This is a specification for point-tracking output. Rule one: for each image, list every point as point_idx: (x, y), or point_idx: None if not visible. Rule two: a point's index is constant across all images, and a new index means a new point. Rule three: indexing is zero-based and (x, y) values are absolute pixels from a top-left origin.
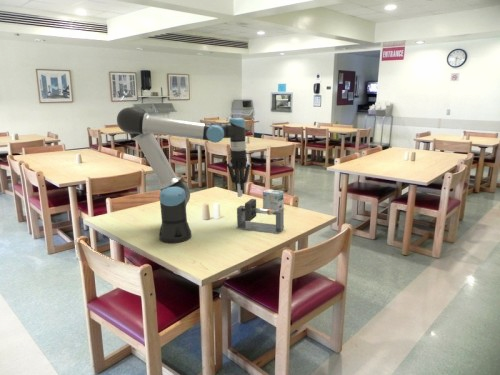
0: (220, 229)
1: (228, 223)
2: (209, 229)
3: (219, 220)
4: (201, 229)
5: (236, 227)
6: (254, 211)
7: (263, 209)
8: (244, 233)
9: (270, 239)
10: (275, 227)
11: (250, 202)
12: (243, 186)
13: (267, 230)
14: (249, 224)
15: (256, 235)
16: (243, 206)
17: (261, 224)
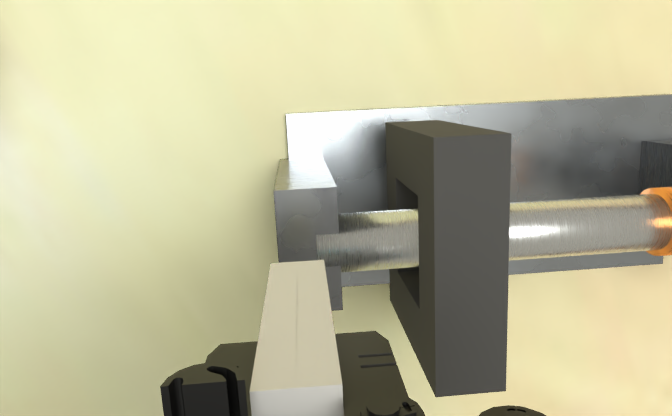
0: (180, 348)
1: (161, 192)
2: (93, 383)
3: (29, 148)
4: (30, 408)
5: None
6: None
7: (614, 244)
8: (405, 349)
9: (626, 377)
10: (617, 169)
11: (491, 321)
12: (397, 384)
13: (572, 259)
14: (376, 184)
15: (507, 349)
16: (327, 217)
17: None
